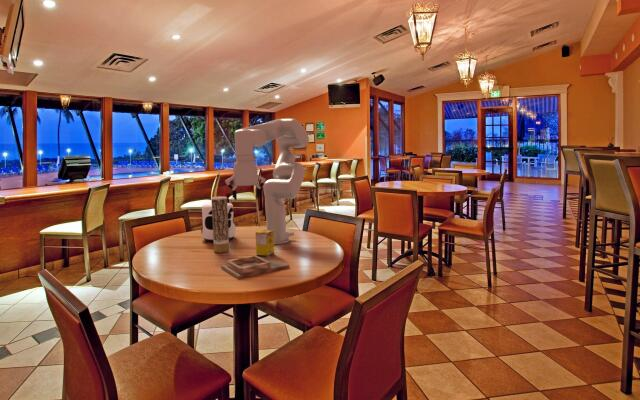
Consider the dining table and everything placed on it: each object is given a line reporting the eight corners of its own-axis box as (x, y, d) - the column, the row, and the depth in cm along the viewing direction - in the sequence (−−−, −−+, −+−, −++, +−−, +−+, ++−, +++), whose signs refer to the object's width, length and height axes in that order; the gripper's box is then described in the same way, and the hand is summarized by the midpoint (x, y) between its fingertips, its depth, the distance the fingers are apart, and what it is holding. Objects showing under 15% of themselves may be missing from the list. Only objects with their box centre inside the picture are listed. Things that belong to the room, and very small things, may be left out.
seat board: (269, 258, 170) (269, 251, 170) (289, 267, 157) (289, 259, 157) (221, 268, 157) (220, 260, 157) (238, 279, 145) (237, 270, 144)
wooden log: (225, 253, 178) (222, 198, 175) (211, 252, 180) (208, 198, 176) (231, 249, 185) (229, 196, 182) (218, 248, 186) (215, 196, 183)
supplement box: (274, 253, 177) (273, 230, 176) (268, 257, 172) (267, 232, 170) (262, 252, 179) (261, 229, 178) (256, 256, 174) (255, 232, 172)
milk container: (215, 234, 217) (213, 201, 214) (242, 236, 210) (241, 203, 208) (194, 241, 201) (192, 206, 198) (223, 244, 194) (221, 208, 192)
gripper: (262, 158, 175) (264, 196, 178) (222, 159, 169) (225, 198, 172) (266, 158, 168) (268, 198, 171) (225, 160, 162) (227, 201, 165)
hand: (246, 198), depth 172 cm, fingers open, 9 cm apart
